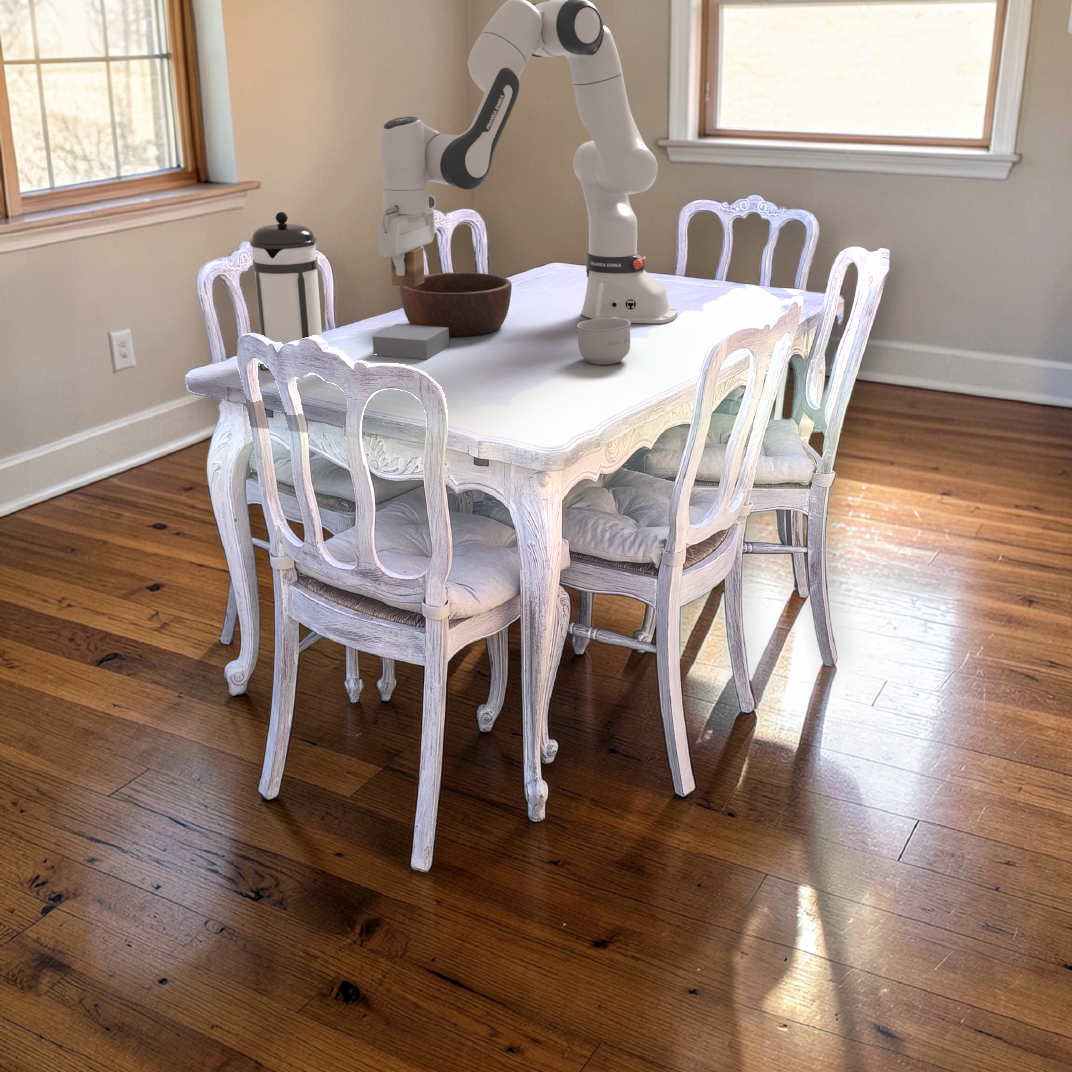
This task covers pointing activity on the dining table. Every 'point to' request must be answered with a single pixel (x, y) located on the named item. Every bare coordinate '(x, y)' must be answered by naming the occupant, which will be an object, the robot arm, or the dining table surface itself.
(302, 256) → the coffee press
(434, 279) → the wooden bowl
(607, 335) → the teacup
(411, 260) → the walnut block
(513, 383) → the dining table surface
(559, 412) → the dining table surface
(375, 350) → the block
